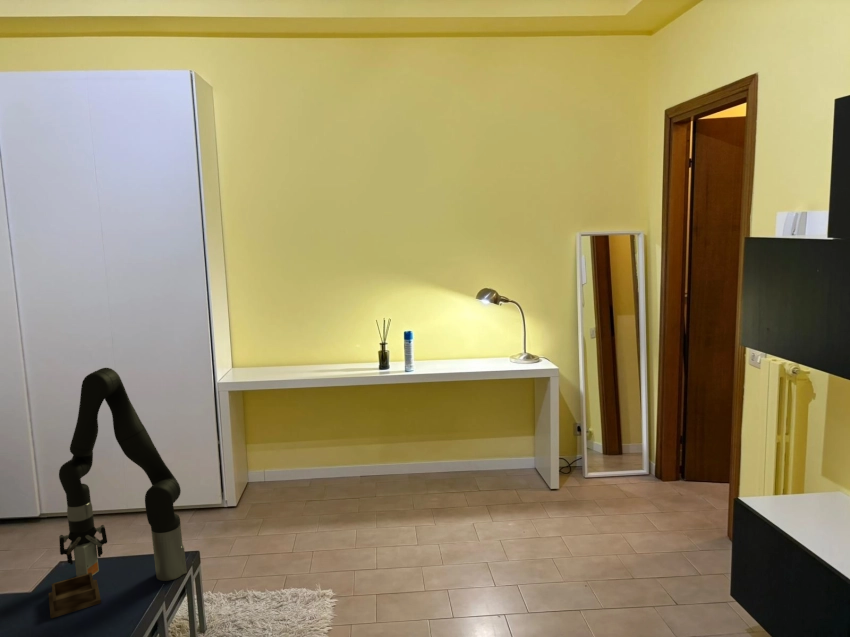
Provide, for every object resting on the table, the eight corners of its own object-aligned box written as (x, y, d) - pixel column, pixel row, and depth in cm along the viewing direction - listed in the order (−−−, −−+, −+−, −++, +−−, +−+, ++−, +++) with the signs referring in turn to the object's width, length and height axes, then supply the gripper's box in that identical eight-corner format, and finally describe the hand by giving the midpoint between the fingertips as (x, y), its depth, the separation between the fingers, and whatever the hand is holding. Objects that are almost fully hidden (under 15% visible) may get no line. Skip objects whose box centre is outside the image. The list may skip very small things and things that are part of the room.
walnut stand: (96, 582, 216) (95, 569, 215) (101, 603, 204) (99, 589, 203) (49, 596, 209) (47, 583, 208) (50, 618, 197) (48, 604, 196)
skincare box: (87, 580, 217) (83, 547, 216) (76, 579, 218) (72, 546, 216) (99, 570, 223) (95, 538, 221) (89, 569, 224) (85, 537, 222)
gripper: (102, 505, 224) (107, 549, 227) (55, 516, 217) (61, 561, 219) (105, 514, 218) (109, 558, 220) (56, 525, 210) (62, 571, 213)
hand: (85, 559), depth 220 cm, fingers open, 8 cm apart
